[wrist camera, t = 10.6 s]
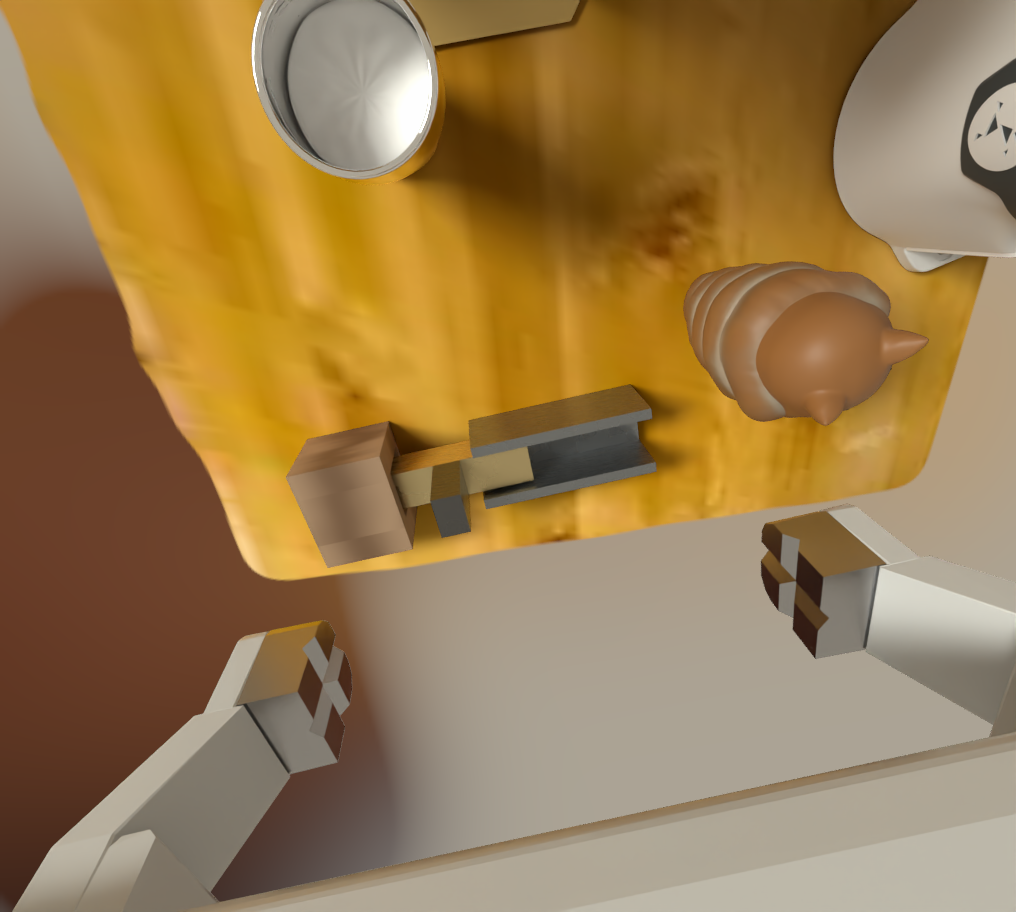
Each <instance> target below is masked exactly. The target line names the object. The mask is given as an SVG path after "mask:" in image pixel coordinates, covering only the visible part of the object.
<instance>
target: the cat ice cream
mask: <svg viewBox="0 0 1016 912" xmlns="http://www.w3.org/2000/svg"><path fill="white" fill-rule="evenodd" d="M890 308H891V305H890V300H889V297H888V296H887V294H886V293H885V292H883V291H882V290H881V289H880V288H879V287H878V286H877V285H876V284H875V283H874V282H872V281H871V280H869V279H868V278H866V277H864V276H862V275H860V274H857V273H853V272H831V271H826V270H824V269H822V268H820V267H818V266H816V265H813V264H808V263H804V262H779V263H774V264H769V265H767V264H759V263H755V264H748V265H744V266H738V267H728V268H724V269H721V270H719V271H714V272H710V273H706V274H703V275H701V276H700V277H698V278H697V279H696V280H695V281H694V282H693V283H692V285H691V286H690V288H689V290H688V292H687V294H686V297H685V300H684V307H683V309H684V316H685V320H686V322H687V330H688V335H689V341H690V344H691V346H692V347H693V349H694V352H695V355H696V357H697V359H698V360H699V362H700V364H701V365H702V366H703V367H704V368H705V369H706V370H707V371H708V372H709V374H710V376H711V378H712V379H713V381H714V382H715V384H716V385H717V387H718V388H719V390H720V391H721V392H722V393H723V394H724V395H725V396H727V397H729V398H731V399H734V400H736V401H737V403H738V405H739V406H740V408H741V410H742V411H743V412H744V413H745V414H746V415H747V416H748V417H750V418H751V419H753V420H756V421H762V422H765V421H771V420H775V419H779V418H782V417H787V418H793V417H812V418H813V419H814V420H815V421H817V422H818V423H820V424H822V425H829V424H831V423H832V422H833V421H834V420H835V419H836V418H837V417H838V416H839V415H840V414H841V413H842V411H844V410H848V409H850V408H852V407H854V406H856V405H858V404H860V403H862V402H863V401H865V400H866V399H868V398H869V397H871V396H872V395H873V394H874V393H875V392H876V391H877V390H878V389H879V387H880V386H881V385H882V383H883V382H884V381H885V379H886V377H887V376H888V374H889V372H890V370H891V369H892V368H891V367H892V364H895V363H898V362H900V361H903V360H905V359H907V358H909V357H911V356H912V355H914V354H915V353H917V352H918V351H919V350H921V349H922V348H923V347H924V346H925V345H926V344H927V343H928V341H929V340H928V338H927V337H924V336H921V335H919V334H916V333H913V332H909V331H904V330H897V329H893V328H892V325H891V322H890V320H889V318H888V316H889V313H890Z"/></svg>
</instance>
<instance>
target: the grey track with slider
mask: <svg viewBox="0 0 1016 912" xmlns="http://www.w3.org/2000/svg"><path fill="white" fill-rule="evenodd" d="M648 419H652V410H651V407H650V406H649V405H648V404H647V403H646V402H645V401H644V399H643V398H642V397H641V396H640V395H639V394H638V393H637V391H636V390H635V389H634V388H633V387H632V386H631V385H625V386H621V387H616V388H612V389H607V390H603V391H598V392H594V393H590V394H585V395H581V396H576V397H572V398H567V399H563V400H558V401H554V402H549V403H545V404H540V405H536V406H531V407H527V408H522V409H518V410H513V411H509V412H505V413H500V414H496V415H491V416H487V417H482V418H478V419H473V420H469V436H470V449H471V453H472V457H473V458H477V457H482V456H486V455H491V454H495V453H500V452H504V451H509V450H513V449H518V448H522V447H527V449H528V454H529V458H530V463H531V468H532V473H533V478H534V480H532V481H527V482H523V483H518V484H514V485H509V486H505V487H500V488H496V489H491V490H487V491H483V496H484V502H485V506H486V509H489V508H494V507H498V506H503V505H507V504H512V503H516V502H521V501H525V500H530V499H534V498H539V497H543V496H548V495H552V494H557V493H561V492H566V491H571V490H575V489H580V488H584V487H589V486H593V485H598V484H602V483H607V482H611V481H616V480H620V479H625V478H629V477H634V476H638V475H643V474H647V473H652V472H656V462H655V461H654V459H653V458H652V456H651V455H650V454H649V452H648V451H647V450H646V448H645V447H644V445H643V444H642V443H641V441H640V440H639V434H638V424H637V422H639V421H643V420H648Z"/></svg>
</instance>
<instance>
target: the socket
mask: <svg viewBox="0 0 1016 912" xmlns="http://www.w3.org/2000/svg"><path fill="white" fill-rule="evenodd" d="M395 456H400V453H399V450H398V447H397V444H396V441H395V438H394V435H393V432H392V429H391V426H390V423H389V421H388V422H383V423H379V424H374V425H370V426H365V427H361V428H356V429H352V430H348V431H343V432H339V433H334V434H330V435H325V436H321V437H316V438H312V439H307V441H306V443H305V445H304V446H303V448H302V450H301V452H300V453H299V455H298V457H297V459H296V460H295V462H294V464H293V466H292V467H291V469H290V471H289V473H288V474H287V476H286V479H287V481H288V483H289V485H290V487H291V490H292V492H293V494H294V496H295V498H296V500H297V503H298V505H299V507H300V509H301V511H302V513H303V516H304V518H305V520H306V522H307V524H308V526H309V529H310V531H311V533H312V535H313V537H314V539H315V542H316V544H317V546H318V548H319V550H320V552H321V554H322V557H323V559H324V561H325V563H326V565H327V567H328V568H330V567H334V566H339V565H343V564H348V563H352V562H357V561H361V560H366V559H370V558H375V557H379V556H384V555H388V554H393V553H398V552H402V551H407V550H411V549H413V541H414V532H415V523H416V514H417V506H415V507H410V508H405V509H403V507H402V504H401V502H400V499H399V496H398V493H397V490H396V487H395V485H394V482H393V479H392V476H391V473H390V471H391V466H392V462H393V457H395Z"/></svg>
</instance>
